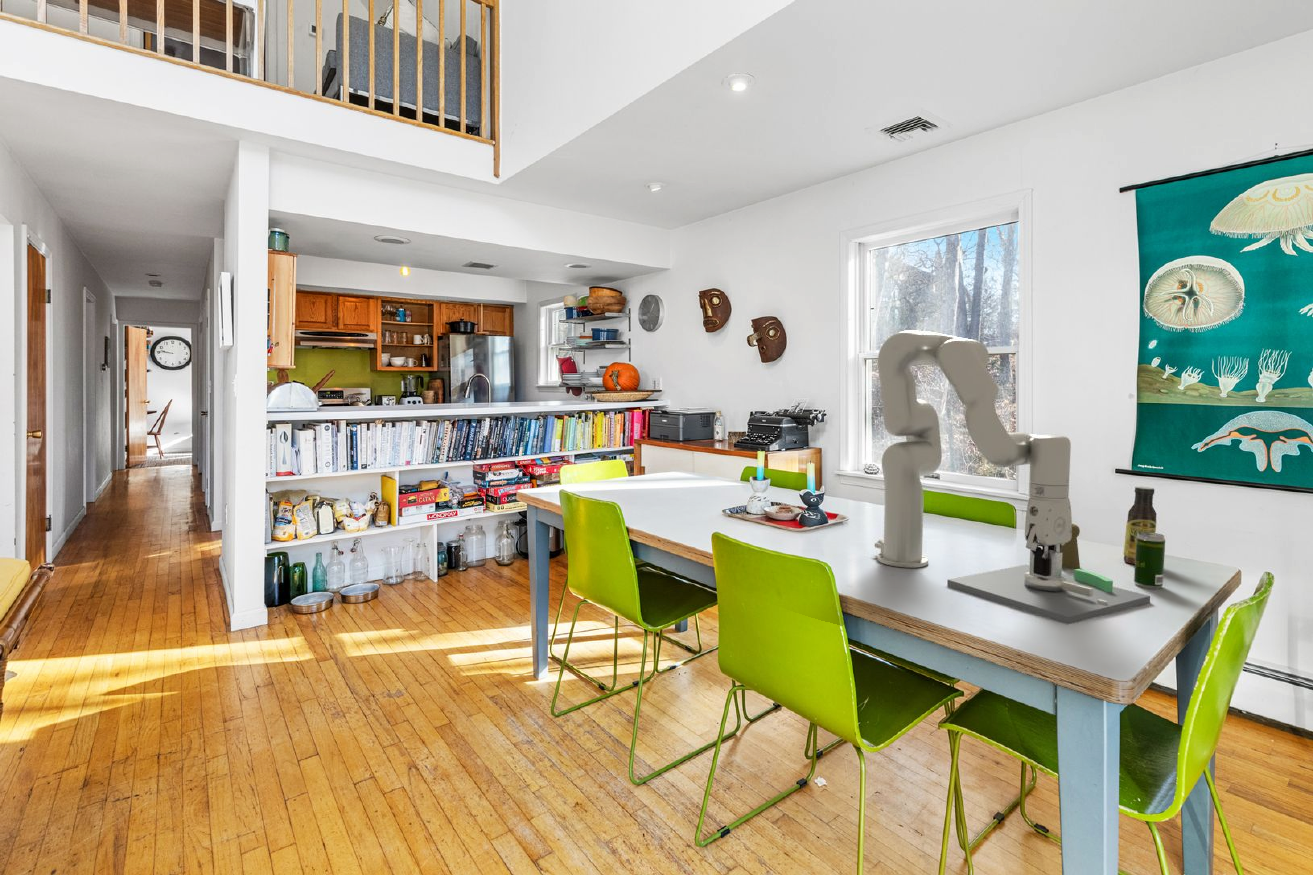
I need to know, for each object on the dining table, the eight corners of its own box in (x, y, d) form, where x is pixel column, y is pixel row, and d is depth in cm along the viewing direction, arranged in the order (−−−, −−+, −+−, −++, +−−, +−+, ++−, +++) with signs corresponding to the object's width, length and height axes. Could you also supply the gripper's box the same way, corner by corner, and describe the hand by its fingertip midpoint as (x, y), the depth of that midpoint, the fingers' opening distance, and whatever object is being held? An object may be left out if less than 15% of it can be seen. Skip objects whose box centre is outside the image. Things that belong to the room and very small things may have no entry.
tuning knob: (1016, 583, 149) (1017, 548, 149) (1038, 578, 153) (1040, 544, 152) (1079, 601, 137) (1081, 563, 136) (1102, 595, 140) (1104, 558, 140)
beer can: (1167, 587, 152) (1170, 535, 151) (1154, 590, 150) (1157, 538, 149) (1142, 581, 157) (1144, 530, 156) (1128, 584, 155) (1131, 533, 154)
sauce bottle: (1126, 565, 171) (1130, 488, 169) (1120, 559, 177) (1124, 485, 175) (1157, 567, 168) (1161, 489, 167) (1149, 561, 174) (1154, 486, 173)
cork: (1084, 569, 167) (1086, 526, 166) (1057, 568, 168) (1059, 525, 167) (1074, 563, 173) (1076, 521, 172) (1048, 562, 174) (1050, 520, 173)
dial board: (947, 585, 154) (947, 569, 154) (1025, 570, 166) (1026, 555, 166) (1068, 624, 129) (1069, 604, 129) (1149, 602, 141) (1150, 584, 141)
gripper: (1041, 497, 139) (1038, 583, 140) (1088, 491, 146) (1084, 573, 147) (1008, 492, 146) (1005, 574, 147) (1054, 486, 153) (1051, 565, 154)
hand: (1045, 573), depth 147 cm, fingers closed on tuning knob, 2 cm apart
